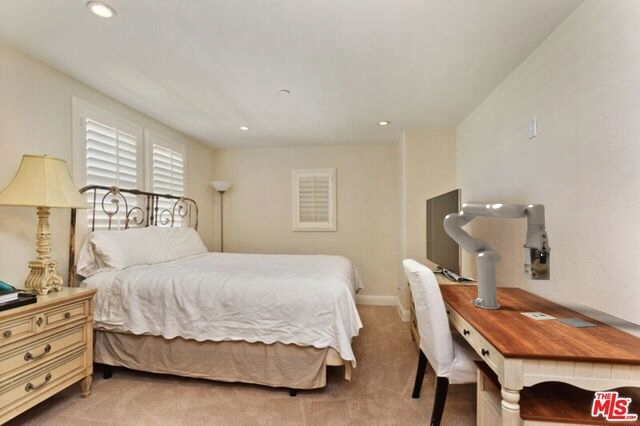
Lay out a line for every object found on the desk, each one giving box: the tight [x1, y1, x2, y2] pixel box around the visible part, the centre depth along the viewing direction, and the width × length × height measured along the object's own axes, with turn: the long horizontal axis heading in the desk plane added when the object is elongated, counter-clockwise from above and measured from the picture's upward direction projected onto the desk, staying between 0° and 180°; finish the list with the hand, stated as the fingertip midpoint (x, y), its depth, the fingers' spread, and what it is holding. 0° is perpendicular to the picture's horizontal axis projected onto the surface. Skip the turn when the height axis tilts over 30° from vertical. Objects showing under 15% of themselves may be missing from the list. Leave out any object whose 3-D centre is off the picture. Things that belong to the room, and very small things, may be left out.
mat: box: [555, 317, 599, 329], centre depth 147 cm, size 11×11×1 cm
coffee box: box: [523, 247, 551, 281], centre depth 159 cm, size 9×6×16 cm
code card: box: [520, 311, 558, 321], centre depth 158 cm, size 11×11×1 cm
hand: (536, 262), depth 159 cm, fingers closed on coffee box, 7 cm apart
